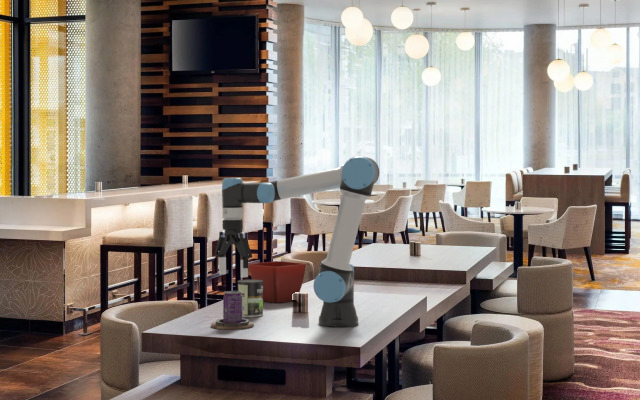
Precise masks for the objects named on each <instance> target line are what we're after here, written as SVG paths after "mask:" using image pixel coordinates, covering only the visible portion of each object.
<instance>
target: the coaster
mask: <svg viewBox="0 0 640 400" xmlns="http://www.w3.org/2000/svg"><path fill="white" fill-rule="evenodd" d="M254 326H255V323H254V322H253V321H250V319H247V318H244V317H242V322H240V323H224V322H223V318H219V319H217V320H216V321H214V322H212V323H210V327H211V328H212V329H214V330H215V329H216V330H221V329H226V331H235V330H234V329H241V330H246V329H247V328H248V329H252V328H253V327H254ZM248 329H247V330H248Z"/></svg>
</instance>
